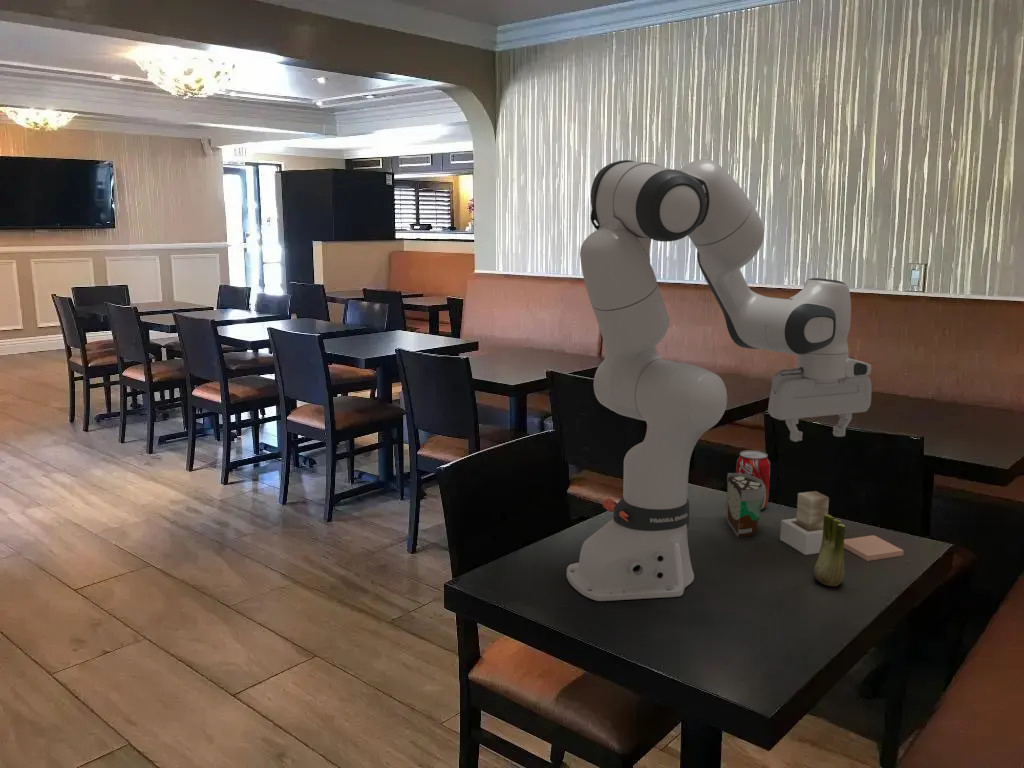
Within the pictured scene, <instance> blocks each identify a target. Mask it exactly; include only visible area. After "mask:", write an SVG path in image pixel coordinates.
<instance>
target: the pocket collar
mask: <svg viewBox="0 0 1024 768" xmlns="http://www.w3.org/2000/svg"><path fill="white" fill-rule="evenodd" d="M796 518H797V517H794V518H789V519H781V521H780V534H779V535H780V538H779V540H780V541H782V542H784V543H785V544H786V545H788V546H789V547H792V548H794V549H795V550H796V551H798V552H799V553H801V554H803V555H805V556H807V555H808V556H809V555H813V554H819V551H820V547H821V543H822V538H823V530H816V531H809V532H808V531H806V530H804V529H803V528H801V527H799V526H797V525H796Z"/></svg>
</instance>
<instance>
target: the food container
mask: <svg viewBox="0 0 1024 768" xmlns="http://www.w3.org/2000/svg"><path fill="white" fill-rule="evenodd" d="M726 477H727V478H726V482H727V487H726V488H727V491H726V493H727V494H726V495H727V496H726V499H727V500H726V501H727V503H726V507H727V508H726V521H727V523H728V524H729V525H730V527H731V529H732V530H733V532H734V533H735V535H736V536H737V538H746V537H751V536H754V535H756V533H758V530H759V522H760V514H761V510H760V509H761V501H762V498H763V497H764V496H765V495H766V492H765V486H764V484H763V482H762V481H761V480H760V479H758V478H756V477H753V476H750V475H745V474H738V473H736V472H727V476H726Z"/></svg>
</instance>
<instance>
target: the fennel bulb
mask: <svg viewBox="0 0 1024 768" xmlns="http://www.w3.org/2000/svg"><path fill="white" fill-rule="evenodd" d="M845 530H846V526H845V524H843V523H842V521H841V520H840V519H835V518H834V516H832V515H831V514H828V515H827V514H826V515H824V524H823V538H822V543H821V547H820V551H819V553H818V558H817V559H816V560H817V561H816V563H815V565H814V568H813V574H814V577H815V579H816V580H817V581H818V583H820V584H822V585H824V586H829V587H838V586H839V585H841V583H842V581H843V579H844V577H845V561H844V560H845V559H844V557H845V555H844V553H845V552H844V551H845V550H844V549H845V548H844V539H845Z"/></svg>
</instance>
